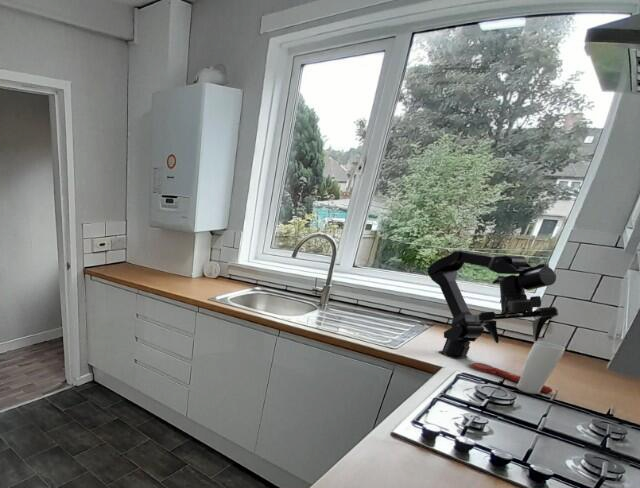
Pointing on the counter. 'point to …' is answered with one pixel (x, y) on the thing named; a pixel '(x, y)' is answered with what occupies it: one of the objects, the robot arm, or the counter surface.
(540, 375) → the drinking glass
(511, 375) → the red long flat piece
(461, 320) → the robot arm
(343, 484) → the counter surface
